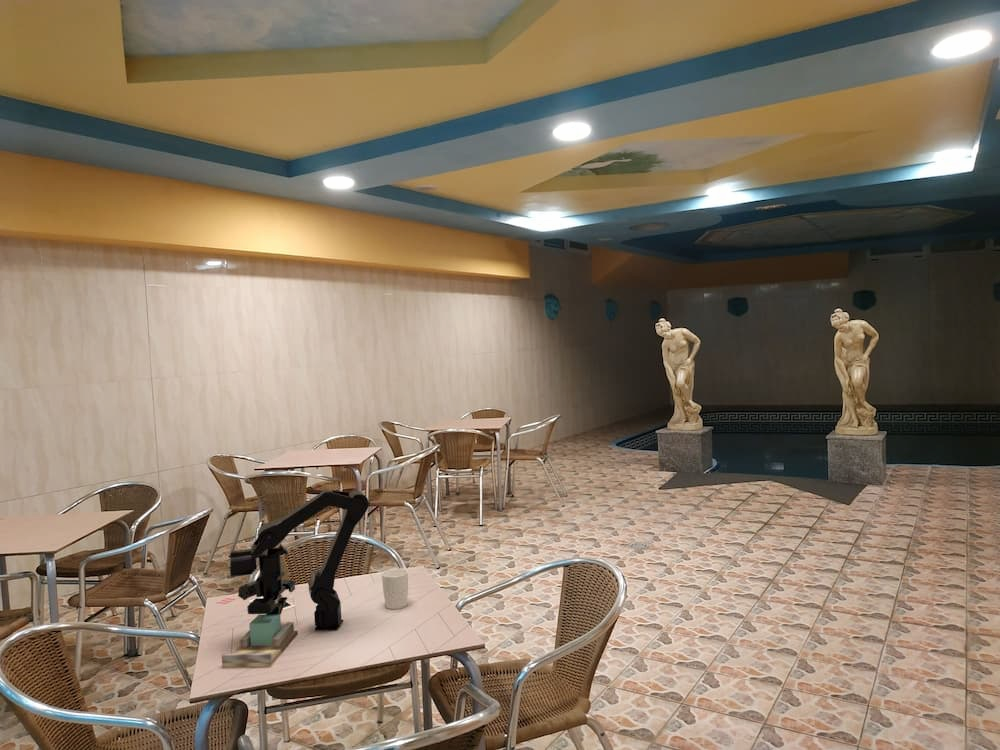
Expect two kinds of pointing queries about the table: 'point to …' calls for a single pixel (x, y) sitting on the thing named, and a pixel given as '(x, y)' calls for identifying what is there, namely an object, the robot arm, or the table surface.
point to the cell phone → (286, 606)
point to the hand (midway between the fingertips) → (274, 626)
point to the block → (264, 629)
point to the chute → (260, 650)
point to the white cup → (395, 588)
